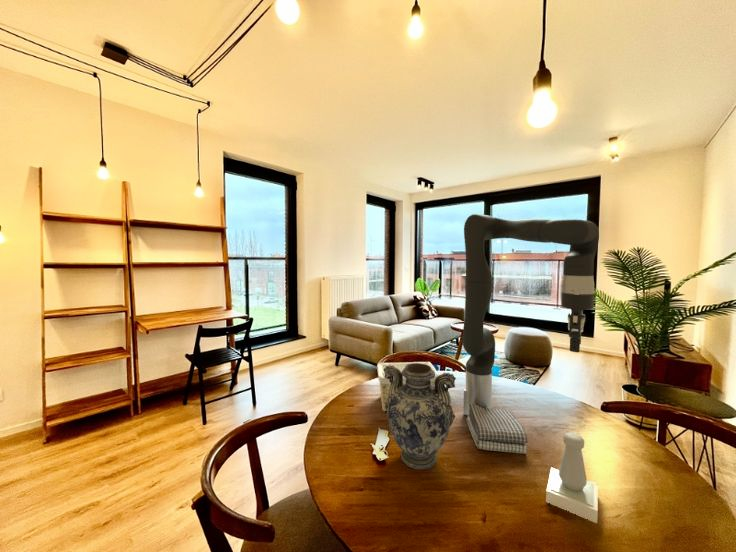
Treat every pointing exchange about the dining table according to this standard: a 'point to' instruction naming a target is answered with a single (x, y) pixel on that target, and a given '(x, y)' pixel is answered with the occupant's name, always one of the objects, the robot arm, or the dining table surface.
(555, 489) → the pedestal
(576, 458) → the salt shaker
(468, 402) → the robot arm
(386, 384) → the cream box
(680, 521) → the dining table surface
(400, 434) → the decorative vase
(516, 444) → the towel
